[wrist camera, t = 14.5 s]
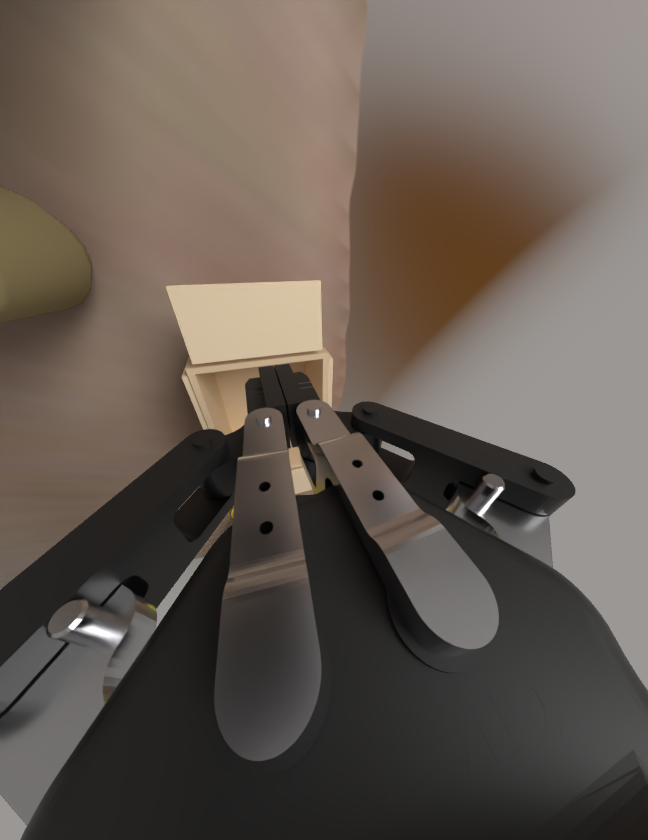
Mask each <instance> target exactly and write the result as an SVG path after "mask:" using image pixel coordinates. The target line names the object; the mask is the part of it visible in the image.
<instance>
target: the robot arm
mask: <svg viewBox="0 0 648 840" xmlns="http://www.w3.org/2000/svg"><path fill="white" fill-rule="evenodd" d="M258 369H259V375H260V377H258V378H250V379H248V381H247V382H246V384H245V391H246V402H247V412H248V415H247V416H246V418H245V422H244V425H243V426H242V427H241V428H240V429H238V430H236V431H234V432H232V433H229V434H227V435H224V434H223V433H222V432H221V431H219V430H216V429H205V430H201V431H198V432H195V433H193V434H191V435H190V436H188V437H187V438H186V439H184V440H183V441H182V442H181V443H179V444H178V445H177V446H176V447H175V448H173V449H172V450H171V451H170V452H168V453H167V454H166V455H165V456H164V457H162V458H161V459H160V460H159V461H157V462H156V463H155V464H154V465H153V466H151V467H150V468H149V469H148V470H146V471H145V472H144V473H143V474H142V475H140V476H139V477H138V478H137V479H135V480H134V481H133V482H132V483H130V484H129V485H128V486H127V487H126V488H124V489H123V490H122V491H121V492H119V493H118V494H117V495H116V496H115V497H113V498H112V499H111V500H110V501H108V502H107V503H106V504H105V505H104V506H102V507H101V508H100V509H99V510H97V511H96V512H95V513H94V514H93V515H91V516H90V517H89V518H88V519H86V520H85V521H84V522H83V523H82V524H80V525H79V526H78V527H77V528H75V529H74V530H73V531H72V532H70V533H69V534H68V535H67V536H66V537H64V538H63V539H62V540H61V541H59V542H58V543H57V544H56V545H55V546H53V547H52V548H51V549H50V550H48V551H47V552H46V553H45V554H44V555H42V556H41V557H40V558H39V559H37V560H36V561H35V562H34V563H33V564H31V565H30V566H29V567H28V568H26V569H25V570H24V571H23V572H22V573H20V574H19V575H18V576H17V577H15V578H14V579H13V580H12V581H11V582H9V583H8V584H7V585H6V586H4V587H3V588H2V589H1V590H0V795H1V796H2V797H3V798H4V799H5V800H6V802H8V804H9V805H10V806H11V807H12V809H13V810H14V811H15V812H16V813H17V814H18V816H19V817H20V818H21V819H22V820H23V822H24V823H25V824H26V825H27V827H26V829H25V831H24V833H23V835H22V838H21V840H648V690H647V689H646V688H645V686H644V685H643V683H642V682H641V680H640V679H639V677H638V676H637V674H636V673H635V671H634V669H633V668H632V666H631V665H630V663H629V661H628V660H627V658H626V656H625V655H624V653H623V651H622V649H621V647H620V646H619V644H618V642H617V640H616V638H615V637H614V635H613V633H612V631H611V630H610V628H609V626H608V624H607V623H606V622H605V620H604V619H603V617H602V616H601V614H600V613H599V612H598V610H597V609H596V608H595V607H594V605H593V604H592V603H591V602H590V601H589V600H588V598H587V597H586V596H585V595H584V594H583V593H582V592H581V591H580V590H579V589H578V588H577V587H576V586H575V585H574V584H573V583H571V582H570V581H569V580H568V579H567V578H565V577H564V576H563V575H562V574H560V573H559V572H558V571H556V570H555V569H553V561H552V550H551V538H550V525H549V516H550V515H551V514H552V513H553V512H555V511H556V510H557V509H558V508H559V507H561V506H562V505H563V504H564V503H565V502H567V501H568V500H569V499H570V498H572V497H573V496H574V494H575V487H574V485H573V484H572V482H571V481H570V480H569V479H568V477H566V476H565V475H564V474H563V473H562V472H560V471H559V470H557V469H556V468H554V467H552V466H550V465H548V464H546V463H543V462H540V461H538V460H535V459H532V458H529V457H526V456H523V455H520V454H518V453H515V452H512V451H510V450H507V449H504V448H501V447H498V446H496V445H493V444H490V443H487V442H484V441H481V440H479V439H476V438H473V437H470V436H468V435H465V434H462V433H459V432H456V431H454V430H451V429H448V428H445V427H442V426H440V425H437V424H434V423H431V422H428V421H426V420H423V419H420V418H417V417H414V416H412V415H409V414H406V413H403V412H400V411H398V410H395V409H392V408H389V407H386V406H384V405H381V404H378V403H375V402H360V403H358V404H356V405H355V406H354V407H353V410H352V412H338V411H333V409H332V408H331V406H330V405H329V404H328V403H326V402H324V401H321V400H320V398H319V396H318V394H317V393H316V391H315V389H314V387H313V385H312V383H311V382H310V380H309V378H308V376H307V375H305V374H304V373H302V372H295V373H293V371H292V369H291V367H290V364H289V363H288V364H280V365H274V366H273V365H272V366H264V367H258ZM290 441H291V444H290ZM382 441H385V442H387V443H389V444H392V445H394V446H396V447H399V448H401V449H403V450H406V451H408V452H410V453H411V454H412V455H413V456H414V458H415V460H414V461H412V460H408V459H406V458H404V457H401V456H399V455H397V454H395V453H392V452H390V451H388V450H385V449H383V448H381V443H382ZM291 445H292V448H293V447H298V448H299V451H300V460H301V463H302V465H303V468H304V470H305V473H306V475H307V477H308V480H309V482H310V485H311V487H312V489H313V492H314V495H295V491H294V484H293V478H292V472H291V465H290V459H289V450H288V449H289V448H291ZM199 486H200V487H199ZM198 487H199V488H198ZM197 488H198V489H197ZM196 489H197V490H196ZM195 490H196V491H195ZM194 491H195V493H194V494H193V495H192V496H191V497H190V495H191V494H192V493H193V492H194ZM189 497H190V498H189ZM188 498H189V499H188ZM187 499H188V500H187ZM186 500H187V501H186ZM185 501H186V502H185ZM184 502H185V503H184ZM183 503H184V504H183ZM182 504H183V505H182ZM181 505H182V506H181ZM233 505H234V513H233V525H232V526H231V527H229V528H228V529H227V530H226V531H225V532H224V533H223V534H222V535H221V536H220V537H219V538H218V539H217V541H216V542H215V543H214V544H213V546H212V547H211V548H210V550H209V551H208V553H207V554H206V556H205V557H204V559H203V560H202V562H201V563H200V565H199V566H198V568H197V569H196V571H195V572H194V574H193V575H192V576H191V578H190V580H189V581H188V582H187V584H186V585H185V587H184V588H183V590H182V591H181V593H180V594H179V596H178V597H177V599H176V600H175V602H174V603H173V604H172V606H171V607H170V609H169V610H168V612H167V613H166V615H165V616H164V618H163V619H162V621H161V622H160V624H159V625H158V627H157V628H156V623H157V613H156V608H157V607H158V606H159V604H160V603H161V602H162V600H163V599H164V598H165V596H166V595H167V594H168V592H169V591H170V590H171V588H172V587H173V586H174V584H175V583H176V582H177V580H178V579H179V578H180V576H181V574H183V572H184V571H185V570H186V568H187V567H188V565H189V564H190V563H191V561H192V560H193V559H194V557H195V556H196V555H197V553H198V552H199V551H200V549H201V548H202V547H203V545H204V544H205V543H206V541H207V540H208V539H209V537H210V536H211V535H212V533H213V532H214V531H215V529H216V528H217V527H218V525H219V524H220V523H221V521H222V520H223V519H224V517H225V516H226V514H227V513H228V512H229V510H230V509H231V508H232V506H233ZM180 506H181V508H180V509H179V507H180ZM178 509H179V510H178ZM177 510H178V511H177ZM155 628H156V630H155Z"/></svg>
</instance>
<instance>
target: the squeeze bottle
mask: <svg viewBox="0 0 648 840" xmlns="http://www.w3.org/2000/svg"><path fill="white" fill-rule="evenodd" d="M91 277H92V262H91V260H90V258H89V255H88V253H87V251H86V248H85V247H84V245H83V244H82V243H81V242H80V241H79V239H78V238H77V237H76V236H75V234H74V233H73V232H72V231H71V230H69V229H68V228H67V227H66V226H64V225H63V224H62V223H60V222H59V221H58V220H56V219H55V218H54V217H53V216H51V215H50V214H49V213H47V212H46V211H45V210H43V209H42V208H41V207H40V206H38V205H37V204H36V203H34V202H33V201H32V200H30V199H28V198H26V197H24V196H21V195H19V194H17V193H15V192H13V191H10V190H8V189H6V188H4V187H1V186H0V323H3V322H7V321H12V320H17V319H22V318H27V317H31V316H36V315H41V314H46V313H51V312H55V311H60V310H65V309H67V308H70V307H72V306H74V305H77V304H79V303H82V301H83V300H84V298H85V297H86V295H87V294H88V292H89V291H90V289H91Z"/></svg>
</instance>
